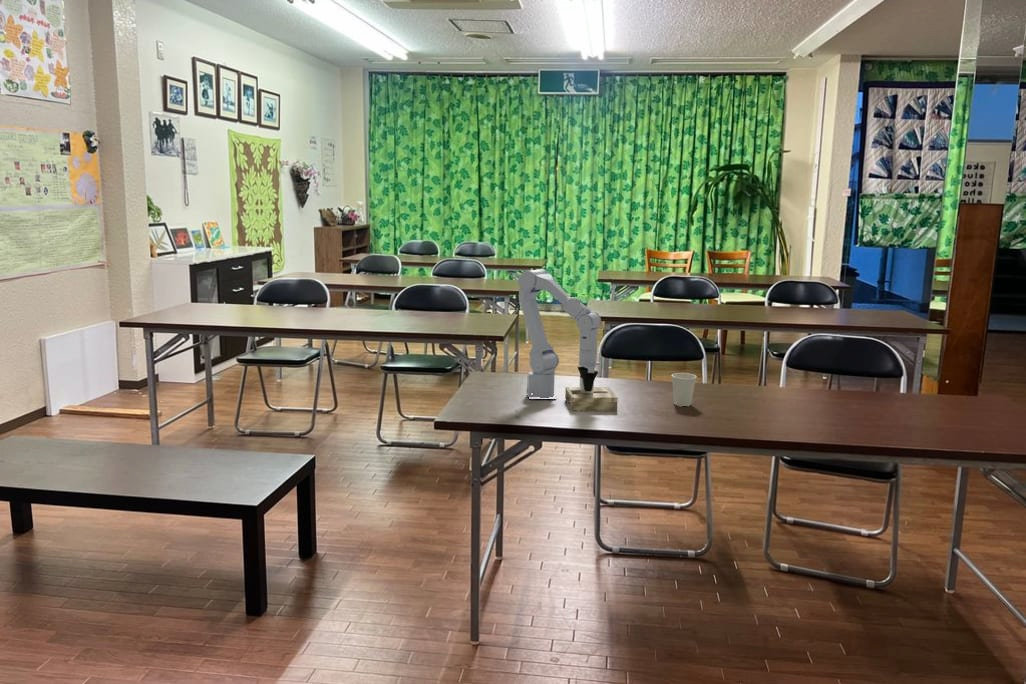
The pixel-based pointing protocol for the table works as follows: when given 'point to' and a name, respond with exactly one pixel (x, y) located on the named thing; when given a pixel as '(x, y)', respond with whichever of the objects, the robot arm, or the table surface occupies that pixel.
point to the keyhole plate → (592, 399)
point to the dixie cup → (683, 388)
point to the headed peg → (583, 387)
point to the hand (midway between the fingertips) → (586, 389)
